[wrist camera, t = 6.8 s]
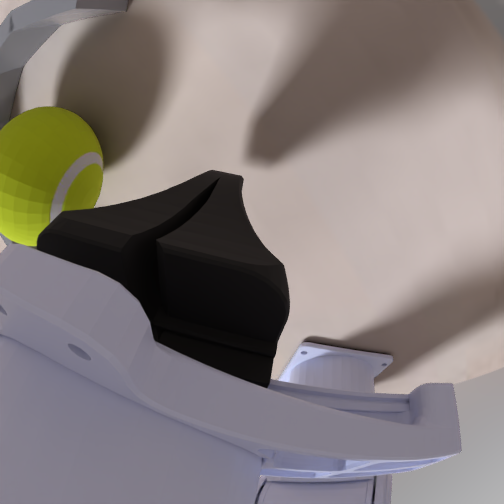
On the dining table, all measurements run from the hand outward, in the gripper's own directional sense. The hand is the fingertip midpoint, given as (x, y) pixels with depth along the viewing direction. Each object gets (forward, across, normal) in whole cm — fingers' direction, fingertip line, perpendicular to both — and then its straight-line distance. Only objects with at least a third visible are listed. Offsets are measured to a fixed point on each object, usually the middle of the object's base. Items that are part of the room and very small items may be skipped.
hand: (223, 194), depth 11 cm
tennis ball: (+2, +9, 0) cm, 9 cm away
